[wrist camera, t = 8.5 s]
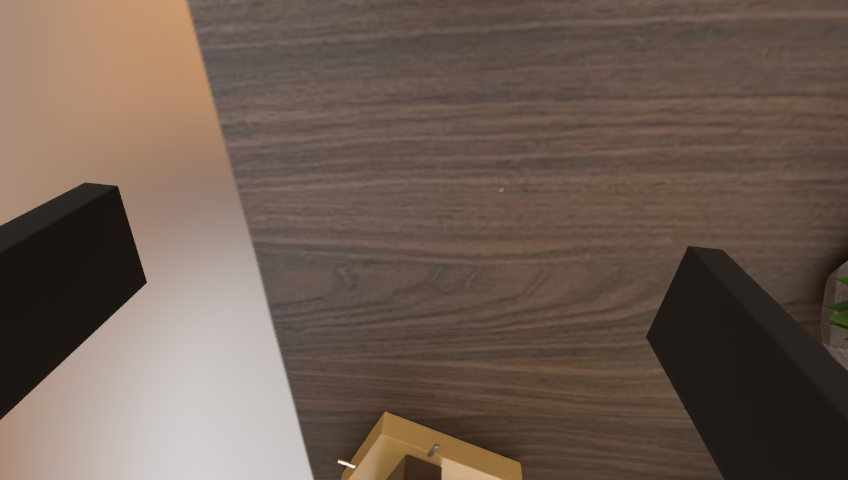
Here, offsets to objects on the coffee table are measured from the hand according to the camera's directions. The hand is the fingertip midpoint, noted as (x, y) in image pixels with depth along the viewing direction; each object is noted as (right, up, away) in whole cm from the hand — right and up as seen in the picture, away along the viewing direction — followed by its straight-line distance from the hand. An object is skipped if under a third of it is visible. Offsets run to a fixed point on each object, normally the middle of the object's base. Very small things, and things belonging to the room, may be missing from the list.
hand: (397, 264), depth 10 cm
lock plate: (+1, -18, +25) cm, 31 cm away
